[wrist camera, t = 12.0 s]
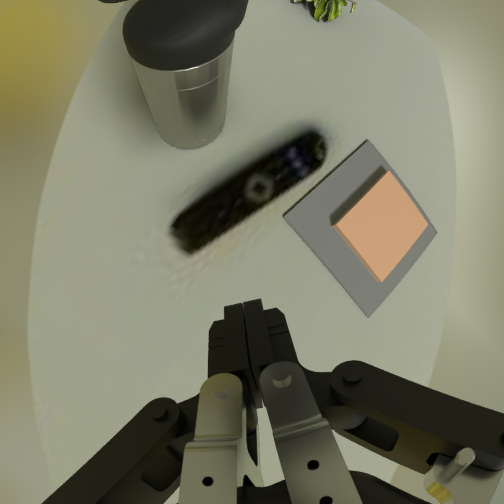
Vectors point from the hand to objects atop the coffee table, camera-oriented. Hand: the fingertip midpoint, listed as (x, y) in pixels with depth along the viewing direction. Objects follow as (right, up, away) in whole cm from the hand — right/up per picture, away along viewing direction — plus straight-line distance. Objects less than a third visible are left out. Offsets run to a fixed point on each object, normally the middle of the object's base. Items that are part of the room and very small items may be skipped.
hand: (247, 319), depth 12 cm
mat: (+17, +6, +27) cm, 32 cm away
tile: (+14, +2, +25) cm, 29 cm away
